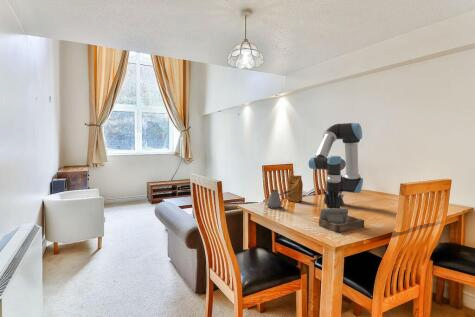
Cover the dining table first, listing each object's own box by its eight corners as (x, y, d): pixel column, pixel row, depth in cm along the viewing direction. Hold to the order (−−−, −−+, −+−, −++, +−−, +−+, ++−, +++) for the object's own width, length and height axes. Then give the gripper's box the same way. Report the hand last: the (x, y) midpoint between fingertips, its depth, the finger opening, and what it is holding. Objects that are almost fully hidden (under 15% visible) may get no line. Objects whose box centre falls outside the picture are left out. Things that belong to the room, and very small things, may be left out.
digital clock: (346, 224, 154) (346, 206, 153) (349, 229, 145) (350, 210, 144) (318, 222, 157) (318, 205, 156) (319, 227, 148) (320, 209, 147)
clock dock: (318, 225, 150) (318, 219, 150) (344, 220, 161) (344, 214, 160) (337, 233, 138) (337, 225, 138) (364, 226, 149) (364, 220, 149)
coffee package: (291, 198, 225) (292, 173, 223) (304, 201, 216) (304, 175, 214) (284, 200, 218) (285, 174, 216) (297, 203, 209) (297, 176, 207)
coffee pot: (263, 207, 195) (263, 187, 194) (272, 204, 203) (272, 185, 202) (287, 212, 180) (287, 191, 179) (296, 209, 188) (296, 189, 187)
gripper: (320, 180, 158) (320, 218, 159) (338, 183, 146) (337, 224, 147) (329, 179, 161) (328, 216, 162) (347, 182, 150) (346, 222, 151)
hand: (332, 220), depth 155 cm, fingers closed
